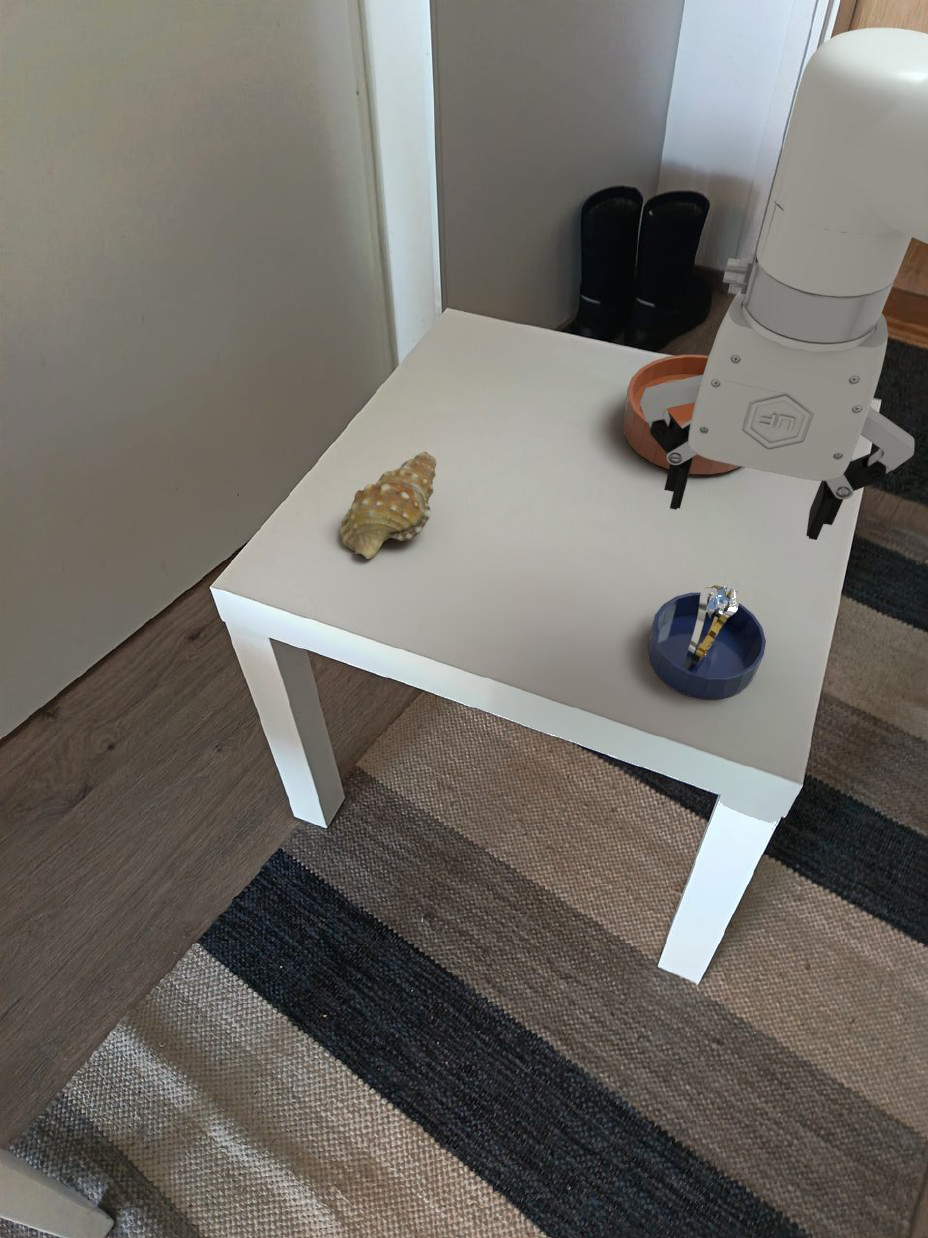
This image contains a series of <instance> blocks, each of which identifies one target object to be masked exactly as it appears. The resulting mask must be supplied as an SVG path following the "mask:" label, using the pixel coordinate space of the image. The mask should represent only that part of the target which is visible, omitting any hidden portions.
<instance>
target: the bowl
mask: <svg viewBox="0 0 928 1238" xmlns="http://www.w3.org/2000/svg"><path fill="white" fill-rule="evenodd" d="M708 358H709V355H706V354H705V355H704V354H677V355H670V356H665V357H662V358H659V359H656V360H653V361H651V362H649V363H647V364H645V365H643V366H642V367H641V368H639V369H638V370H637V371H636V372H635V374H634V375H633V376H631V379H630V381H629V384H628V387H627V391H626V399H625V405H624V412H623V419H622V426H623V427H622V428H623V429H622V430H623V434H624V436H625V438H626V440H627V442H628V444H629V446H630V447H632V448H633V450H634V451H636V452H637V454H638V455H640V456H641V457H642V458H644V459H646V460H647V461H649V462H650V463H653V464H654V465H657V466H659V467H662V468H664V469H667V470H669V466H670V463H669V462H668V461H667V453H666V452H665V451H664V450H663V448H662V447H661V446H660V445H659V444H658V443H657V441H656V440H655V439H654V438H653V437H652V435H651V434H650V426H649V423H647V421H646V418H645V416H644V413H643V411H642V408H641V406H640V401H641V398H642V395H643V392H644V390H645V389H646V388H648V387H652V386H656V385H661V384H665V383H669V382H673V381H678V380H682V379H686V378H690V377H695V376H699V375H703V374H704V371H705V368H706V364H707V361H708ZM694 406H695V403H691V404H686V405H682V406H677V407H673V408H668V409H667V411H668V412H669V413H670V414H671V415H672V417H673V418H674V419H675V420H676V421H677V423H678V424H679V425H680V426H682V425H683V424H685V423H687V422H688V421H690V420H691V419H692V414H693V410H694ZM740 467H741V466H737V465H732V464H728V463H723V462H718V461H714V460H710V459H707V458H704V457H702V456H700V455H698V454H697V455H696V456H694V457H693V459H692V463H691V468H690V472H689V475H716V474H722V473H727V472H729V471H732V470H736V469H738V468H740Z"/></svg>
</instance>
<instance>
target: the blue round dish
mask: <svg viewBox="0 0 928 1238" xmlns="http://www.w3.org/2000/svg"><path fill="white" fill-rule="evenodd" d="M700 595H701V592H688V593H683V594H681V595H677V596H675V597H673V598H671V599H669V600H668V601H666V602H665V603H663V604H662V606H661V607H660V608H659V609H658V610H657V612H656V613H655V615H654V617H653V622H652V626H651V629H650V634H649V638H648V642H647V657H648V660H649V664H650V666H651V669H652V670H653V671H654V673H655V675H656V676H657V678H659V679H660V680H661V681H662V682H663V683H664V684H665V685H667V686H668V687H669V688H671V689H672V690H674V691H675V692H677V693H680V694H682V695H684V696H687V697H691V698H693V699H698V700H707V701H708V700H709V701H710V700H711V701H712V700H722V699H723V700H724V699H726V698H727V699H728V698H731V697H733V696H735V695H737V694H739V693H741V692H742V691H744V690H745V689H746V688H747V687H748V686H749V685H750V684H751V683H752V681H753V679H754V677H756V675H757V672H758V670H759V667H760V665H761V662H762V660H763V658H764V656H765V649H766V644H767V639H766V636H765V633H764V629H763V626H762V624H761V623H760V622H759V620H758V619H757V617H756V616H755V614H754V613H752V611H750V610H749V609H748V608H747V607H746V606H744V605H743V604H742V603H740V602H739V605H738V608H737V610H736V612H735V613H734V614H733V615H732V616H730V617H729V618H728V619H727V620H726V622H725V623H724V625H723V627H722V629H721V631H720V633H719V635H718V636H717V638H716V640H715V642H714V644H713V645H712V647H711V649H710V650H709V653H708V655H707V656H706V657H705V658H703V660H702V661H701V662H700V664H699V665H698V666H694V665H692V664H691V663H689V662H688V661H687V659H686V658H687V653H688V649H689V646H690V643H691V639H692V636H693V633H694V629H695V625H696V621H697V617H698V611H699V603H700ZM709 599H710V596H709V598H708V604H709ZM715 614H716V611H715V613H714V615H713V617H712V618H710V617H709V616H708V613H707V616H706V621H705V626H704V630H703V633H702V637H701V640H700V643H699V645H700V644H701V642H702V643H703V641H704V639H705V638H706V636H707V634H708V632H709V630H710V628H711V625H712V623H713V620H714V617H715ZM697 650H698V649H697Z"/></svg>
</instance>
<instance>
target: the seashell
mask: <svg viewBox="0 0 928 1238" xmlns="http://www.w3.org/2000/svg"><path fill="white" fill-rule="evenodd" d="M436 466H437V459H436V458H435V457H434V456H433V455H431V454H430V453H429V452H427V451H423V452H421V453H420V452H419V454H416V455H415V456H414V457H413V458H409V459H407V460H405V461H403V463H402V464H401V466H400V467H398V468H397V469H393V470H388V471H384V472H383V473H382V474H381V476H380V477H379V479H378V480H377V481H376V482H375V484H373V483H369V484H367V485H365V486H364V489H363V490H362V489H358V490H357V491H356V492H355V493H354V499H353V501H352V504H351V506H350V508H349V510H348V512H347V514H346V515H345V516H344V517H343V518H342V520H341V527H340V531H339V533H340V538H341V540H342V544H343V545H344V546H345V547H346V548H347V549H350V550H351V551H353V552H354V554H355V555H359V554H360V555H361V556H364V557H365V559H366V560H370V559H372V558H373V557H375V556H376V554H377V553H378V552H379V550H380V549H381V547H382V545H383V544H384V542H386V541H387V540H388V539H394V540H397V541H401V542H403V541H408V540H412V539H413V538H415V537H416V536H418V535H419V534H420V533H422V532H423V530H424V527H425V526H426V524H427V522H428V521H429V520H430V518H431V515H432V513H431V506H430V503H429V500H430V498H431V496H432V495H433V494H434V491H435V489H434V486H433V483H434V481H433V480H434V478H435V477H436V475H437V474H436Z"/></svg>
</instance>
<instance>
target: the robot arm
mask: <svg viewBox="0 0 928 1238" xmlns="http://www.w3.org/2000/svg"><path fill="white" fill-rule="evenodd" d="M787 127H788V128H787V130H786V131H787V132H786V135H785V139H784V144H783V146H782V151H781V154H780V159H779V161H778V162H779V163H778V166H777V170H776V175H775V177H774V182H773V186H772V189H771V193H770V198H769V201H768V206H767V209H766V213H765V217H764V220H763V224H762V228H761V233H760V236H759V239H758V244H757V248H756V252H755V253H753V252H750V255H749V258H747V257H741V259H736V258H732V257H731V258H730V257H728V259H727V261H726V262H727V263H726V266H725V270H724V274H723V279H722V283H723V284H730V285H734V288H739V289H741V290H740V291H739V292H738V293H736V294H735V296H734V297H733V299H732V301H731V302H730V305H729V307H728V309H727V311H726V313H725V315H724V317H723V319H722V321H721V323H720V326H719V328H718V330H717V333H716V336H715V339H714V342H713V344H712V347H711V350H710V353H709V355H708V356H709V358H708V361H707V364H706V368H705V371H704V374H703V375H699V376H695V377H690V378H686V379H682V380H678V381H673V382H669V383H665V384H661V385H656V386H652V387H648V388H646V389H645V390H644V392H643V395H642V398H641V401H640V406H641V408H642V411H643V413H644V416H645V418H646V421H647V423H649V426H650V434H651V435H652V437H653V438H654V439H655V440H656V441H657V443H658V444H659V445H660V446H661V447H662V448H663V450H664V451H665V452H666V453H667V461H668V462H669V463H670V466H669V469H667V470H668V471H667V475H666V480H665V484H664V491H668V492H671V493H672V496H671V500H670V506H669V510H670V509H671V510H675V511H677V510H678V509H681V506H682V502H683V499H684V496H685V491H686V487H687V484H688V480H689V476H690V474H689V472H690V468H691V463H692V459H693V457H694V456H696V455H697V454H698V455H700V456H702V457H704V458H707V459H710V460H714V461H718V462H723V463H728V464H732V465H737V466H740V467H742V468H748V469H752V470H757V471H762V472H767V473H773V474H777V475H782V476H787V477H793V478H798V479H802V480H808V481H817V482H820V483H819V486H818V488H817V491H816V493H815V496H814V498H813V501H812V503H811V506H810V508H809V513H808V520H807V526H806V535H805V536H806V537H808V539H809V540H813V541H817V540H818V538H819V536H820V533H821V531H822V529H823V526H824V525H828V526H833V524H834V522H835V520H836V517H837V516H838V513H839V511H840V508H841V506H842V504H843V502H844V500H848V499H850V498H851V497H853V495H854V492H855V491H858V490H860V489H863V488H866V487H868V486H870V485H873V484H876V483H878V482H881V481H883V480H885V478H886V475H887V474H888V473H889V472H891V471H894V470H895V469H897V468H898V467H900V465H902V464H903V463H905V462H907V461H908V460H909V459H910V458H912V457H913V456H914V454H915V438H914V437H913V436H912V435H910V433H909V432H907V431H905V430H904V429H903V428H901V427H900V426H898V425H897V424H895V423H894V422H893V421H891V420H890V419H888V418H887V417H885V416H884V415H883V414H882V413H880V412H878V411H877V410H875V408H873V407H872V406H871V405H872V403H873V401H874V400H873V399H874V397H875V395H876V394H875V393H876V391H877V387H878V383H879V381H880V380H879V379H880V376H881V373H882V370H883V366H884V365H883V364H884V361H885V356H886V352H887V351H886V350H887V345H888V339H889V331H888V323H887V319H886V317H885V315H884V313H883V310H884V308H885V305H886V302H887V300H888V297H889V296H890V293H891V290H892V288H893V285H894V282H895V280H896V278H897V275H898V273H899V271H900V268H901V266H902V263H903V260H904V258H905V255H906V253H907V250H908V248H909V246H910V243H911V240H912V238H913V239H916V240H918V241H919V242H920V241H921V242H922V243H924V244H927V245H928V33H926V32H922V31H919V30H918V31H917V30H912V29H906V28H899V27H897V28H896V27H866V28H865V27H864V28H859V29H854V30H848V31H845V32H841V33H839V34H836V35H834V36H833V37H831V38H828V40H826V41H825V42H823V43H821V45H820V46H819V47H818V48H817V49H816V50H815V51H814V52H813V53H812V54H811V56H810V58H809V59H808V61H807V62H806V65H805V67H804V69H803V71H802V76H801V78H800V81H799V85H798V88H797V92H796V95H795V99H794V104H793V108H792V111H791V116H790V120H789V123H788V126H787ZM691 403H695V406H694V410H693V414H692V419H691V420H690V421H688V422H687V423H685V424H683V425H682V426H680V425H679V424H678V423H677V421H676V420H675V419H674V418H673V417H672V415H671V414H670V413H669V412H668V411H667V409H668V408H673V407H677V406H682V405H686V404H691ZM860 437H863V438H864V439H866V440H867V441H869V442H870V443H872V444H873V445H875V446H876V447H877V448H878V450H877V451H873V452H869V453H867V454H865V455H863V456H860V457H858V458H856V459H853V455H854V453H855V450H856V447H857V445H858V442H859V440H860Z"/></svg>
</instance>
